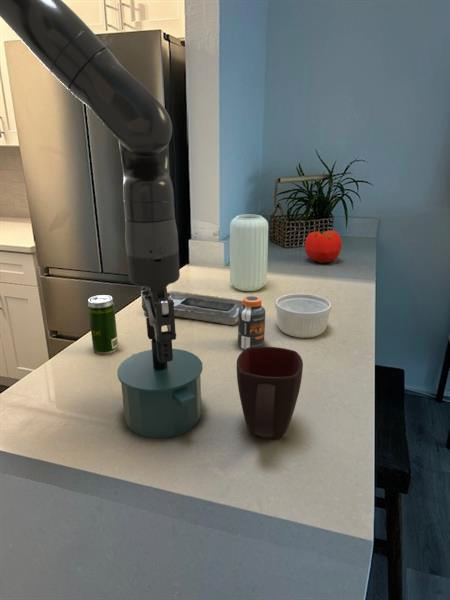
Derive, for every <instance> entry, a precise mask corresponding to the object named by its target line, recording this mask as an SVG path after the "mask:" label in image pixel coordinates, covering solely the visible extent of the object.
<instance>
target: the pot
mask: <svg viewBox="0 0 450 600" xmlns="http://www.w3.org/2000/svg"><path fill="white" fill-rule="evenodd" d="M137 353H138V352H137ZM137 353H133V354H132V355H134V354H137ZM201 383H202V382H201V375H200V376H199V377H198V379H196V380H195V381H194V382H192V383H191V384H189V385H187V386H185V387H183V388H180V389H177V390H172V391H167V392H158V393H150V392H140V391H136V390H133V389H130V388H128V387H126V386H124V385H123V384H122V383H121V382H120V385H121V394H122V403H123V404H122V405H123V414H124V421H125V424H126V426H127V427H128V429H129V430H130V431H131V432H133V433H135V434H137V435H138V436H141V437H143V438H144V437H145V438H150V439H163V438H164V439H165V438H171V437H176V436H179V435H181V434H183V433H186V432H188V431H189V430H191V429H192V428H193V427H195V425H197V423H198V422H199V420H200V419H201V415H202V387H201V386H202V384H201Z"/></svg>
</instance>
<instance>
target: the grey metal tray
mask: <svg viewBox="0 0 450 600" xmlns="http://www.w3.org/2000/svg"><path fill="white" fill-rule="evenodd" d="M167 292H168V293H170V294H171V299H172V300H173V302H174V317H177V318H183V319H192V320H198V321H205V322H212V323H217V324H223V325H229V326H230V325H231V326H235V325H236V324H238V310H239V308H240V307H241V306H243V300H240V299H235V298H228V297H220V296H214V295H209V294H199V293H192V292H186V291H185V292H183V291H175V290H169V291H167Z"/></svg>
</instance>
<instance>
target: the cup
mask: <svg viewBox="0 0 450 600" xmlns="http://www.w3.org/2000/svg"><path fill="white" fill-rule="evenodd" d="M303 368H304V362H303V358H302V357H301V355H300V354H299V353H298V352H297V351H296V350H292V349H289V348H284V347H279V346H278V347H277V346H263V347H250V348H246V349H243V350H242V352H241V353H239V355H238V357H237V359H236V380H237V381H236V382H237V388H238V395H239V399H240V405H241V409H242V413H243V418H244V420H245V424H246V427H247V429H248V432H249V434H250V435H251V436H253V437H256V438H259V439H265V440H278V439H282V438H283V437H284V436H285V434H286V432H287V431H288V428H289V426H290V424H291V420H292V418H293V415H294V412H295V410H296V409H295V408H296V405H297V402H298V397H299V393H300V389H301V384H302V378H303V370H304V369H303Z"/></svg>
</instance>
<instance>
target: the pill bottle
mask: <svg viewBox="0 0 450 600" xmlns="http://www.w3.org/2000/svg"><path fill="white" fill-rule="evenodd" d="M242 301H243V306H241V307H240V308H239V310H238V321H237V345H238V347H239V348H240V349H242V350H245V349H246V348H250V347H265V332H266V309H265V308H264V306H262V298H261V297H260V296H258V295H246V296H244V297H243V298H242Z"/></svg>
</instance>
